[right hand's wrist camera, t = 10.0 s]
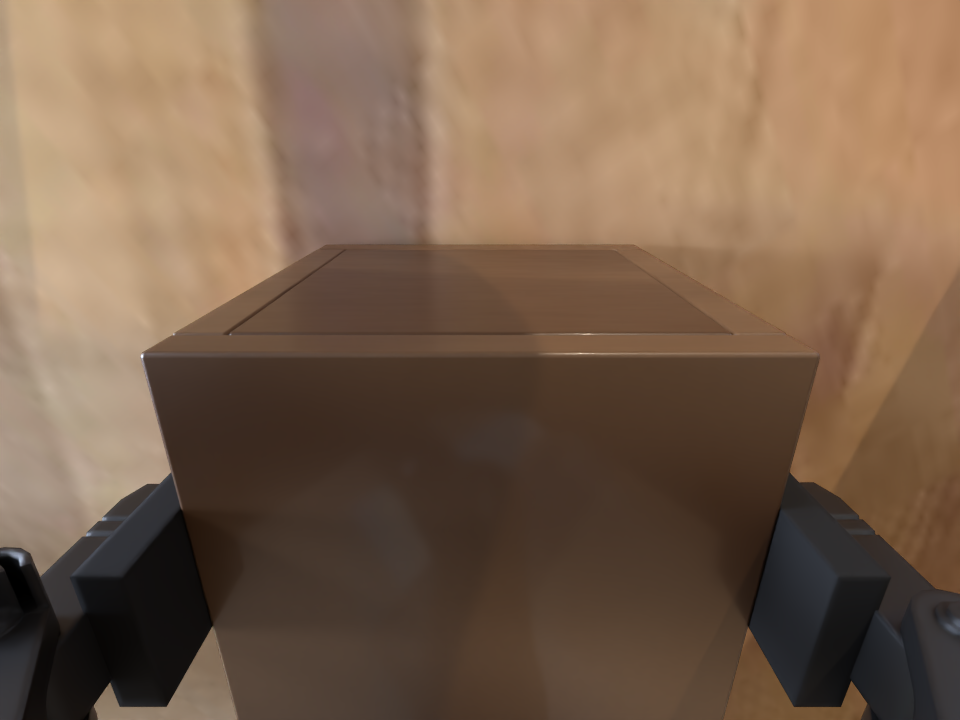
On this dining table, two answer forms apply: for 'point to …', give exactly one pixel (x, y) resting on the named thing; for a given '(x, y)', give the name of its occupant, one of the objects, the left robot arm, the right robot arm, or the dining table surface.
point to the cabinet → (480, 482)
